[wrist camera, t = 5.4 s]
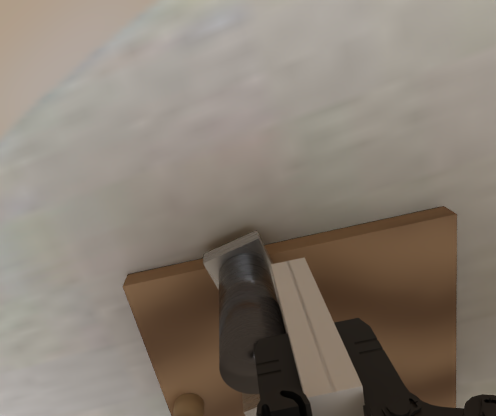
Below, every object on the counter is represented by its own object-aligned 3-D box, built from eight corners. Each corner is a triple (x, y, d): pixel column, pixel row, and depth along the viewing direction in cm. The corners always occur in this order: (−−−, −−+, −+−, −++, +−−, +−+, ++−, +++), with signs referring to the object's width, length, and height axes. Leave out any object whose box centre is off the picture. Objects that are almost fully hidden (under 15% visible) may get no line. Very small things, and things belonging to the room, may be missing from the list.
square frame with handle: (387, 418, 24) (450, 547, 18) (287, 458, 25) (312, 597, 18) (294, 212, 19) (336, 289, 12) (167, 270, 19) (142, 373, 13)
